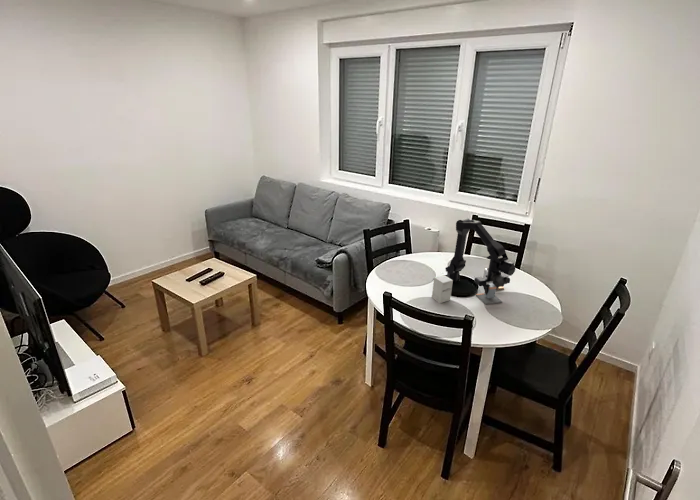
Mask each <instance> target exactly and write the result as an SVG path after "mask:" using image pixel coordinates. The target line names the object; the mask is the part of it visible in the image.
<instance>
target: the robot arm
mask: <svg viewBox="0 0 700 500" xmlns="http://www.w3.org/2000/svg"><path fill="white" fill-rule="evenodd" d="M470 230H474V232H475V233H476V235H477V236H478V237H479V238H480V239H481V241H482V242H483V244H484V245H485V246H486V249H487V252H488V254H489V255H488V256H486V259H487V260H489V263H488V267H486V269H487V270H488V274H487V275H486V277H487V279H484V278H483V276H477V277H474V279H473V282H474V283H475V284H476V286H478V287H482V288H483V290H484V292H485V294H486V295H487V293H488V288H489V287H490V285H489V282H493V284H494V285H495V286H496V287H497V288H498V287H504V286H505V285H507V284H510V283H511V282H510V281H511V279H510V276H512V275H514V274H515V272H516V265H515V263H514V262H512V261H510V260H509V258H508V255H507V252H506V248H505V247H504V246H503V245H502V244H501V243H500V242H497V241H496V240H495V239H494V237H492V236H491V234H490V233H489V232H488V230H486V227H484V226H483V224H482V222H481V221H480V220H475V219H470V218H468V217H467V218H462V219H458V220H457V221H456V223H455V231H456V233H457V234H456V235H457V236H456V237H457V238H456V243H455V249H454V256H453V257H452V259H451V260H450V262H449V265H447V266H446V267H445V272H446V276H447V277H448V278H450V279H452V280H453V281H457V280H458V279H459V280H460V272H461V271H462V270H463V269H464V268H465V267H466V263H467V260H465V259H464V253H465V247H466V240H467V235H468V234H469V231H470ZM502 273H503V274H502ZM497 288H496V291H498V290H497Z"/></svg>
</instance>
